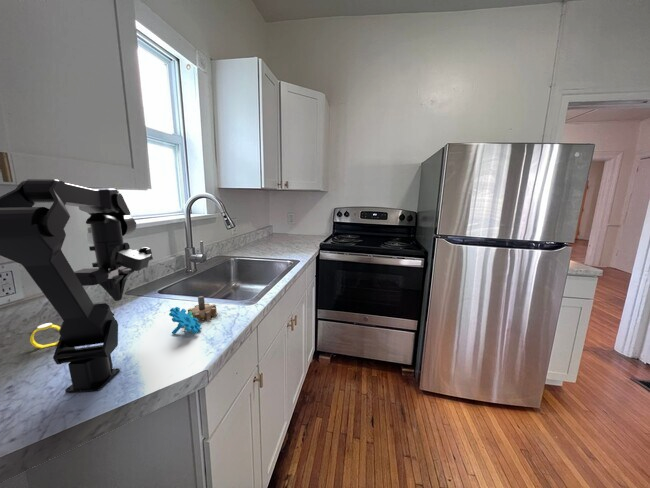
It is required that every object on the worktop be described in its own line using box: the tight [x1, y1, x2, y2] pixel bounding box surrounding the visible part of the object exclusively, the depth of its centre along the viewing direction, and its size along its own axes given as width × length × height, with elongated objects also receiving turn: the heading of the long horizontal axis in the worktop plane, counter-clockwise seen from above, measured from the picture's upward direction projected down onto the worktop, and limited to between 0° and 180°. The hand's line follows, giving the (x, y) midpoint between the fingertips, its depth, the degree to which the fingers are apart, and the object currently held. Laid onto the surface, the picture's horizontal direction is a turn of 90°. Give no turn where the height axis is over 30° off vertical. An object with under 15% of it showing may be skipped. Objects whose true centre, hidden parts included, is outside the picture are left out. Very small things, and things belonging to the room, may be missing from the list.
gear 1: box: [168, 306, 202, 335], centre depth 76 cm, size 11×6×10 cm
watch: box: [29, 322, 61, 350], centre depth 69 cm, size 6×3×6 cm, turn 125°
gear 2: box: [187, 295, 218, 323], centre depth 85 cm, size 9×9×6 cm
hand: (118, 300), depth 68 cm, fingers closed
